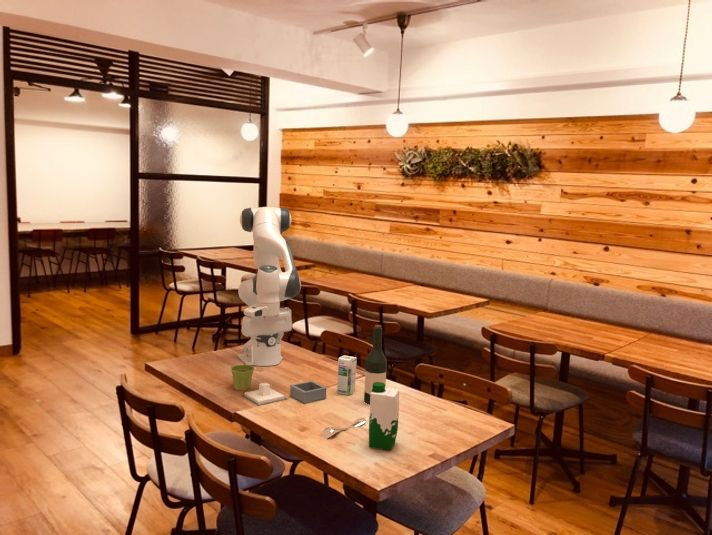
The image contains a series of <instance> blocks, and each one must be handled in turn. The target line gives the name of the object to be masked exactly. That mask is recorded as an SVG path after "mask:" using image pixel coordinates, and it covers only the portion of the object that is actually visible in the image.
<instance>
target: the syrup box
mask: <svg viewBox="0 0 712 535" xmlns="http://www.w3.org/2000/svg"><path fill="white" fill-rule="evenodd" d="M357 359H358V357H356V356H349V355H345V354H344V355H342V356H340V357H338V360H337V382H336V383H337V384H336V385H337V386H336V394H339V395H340V394H341V395H346V396H351V395H352V394H354V393H355V392H356V381H357V380H356V376H357Z"/></svg>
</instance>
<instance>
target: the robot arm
mask: <svg viewBox="0 0 712 535" xmlns="http://www.w3.org/2000/svg"><path fill="white" fill-rule="evenodd" d="M239 216H240V217H239V223H240V226H241V228H242V230H243V231H245V232H248V233H252V238H253V265H254V266H255V267H256V268H257V273H256V274H255V275H254V276H253V277H252V278H251V279H247V280H243V281H242V282H240V284H239V286H238V292H237V293H238V297H239V299H240V300H241V301H242V302H243V303H245V304H246V305H247V308H244V309H243V314H244V316H243V318H242V321H241V333H242V336H244V337H247V338H250V339H249V340H248V341H247V342H245V343H244V344H243V348H242V352H241V353H238V354H237V358H238V359H239V360H241V362H243V363H244V365H250V366H257V367H270V366H271V367H272V366H276V365H279V364H280V363H281V362H282V360H283V359H284V358H283V356H282V354H281V353H282V352H281V350H282V349H281V344H282V339H283V337H284V335H285V333H287V332H291V331H292V329H293V321H292V320H293V319H292V310H291V308H289V307H288V306H287V307H286V306H285V307H280V306H281V305H280V303H281V302H283V301H286V300H290V299H293V298H295V297H296V296H298V295H299V294H300V292H301V288H302V284H301V283H302V282H301V279H300V276H299V272H298V270H297V267H296V262H295V259H294V254H293V251H292V249H291V248H292V247H291V246H290V245H291V244H290V243H289V241H288V240H287V239H285V237H283V235H282V234H283V233H284V232H287V231H288V230H289V229H290V228H291V225H292V215H291V212H290V210H289V209H288V208H285V207H275V206H262V207H260V206H259V207H253V208H252V207H247V208H244V209H243V210H241V213H240V215H239ZM280 259H281V260H282V262H283V267H284V270H285V271H282V269H281V265H280Z"/></svg>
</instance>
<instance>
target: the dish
mask: <svg viewBox="0 0 712 535" xmlns="http://www.w3.org/2000/svg"><path fill="white" fill-rule="evenodd" d="M289 386H290V387H289V390H290V391H289V396H290V397H291V398H293V399H294V400H297V401H298V402H300V403H301V404H303V405H306V404H310V403H316V402H319V401H323V400H327V389H328V388H327V387H326V386H323V385H321V384H320V383H318V382H315V381H314V380H309V381H304V382H303V381H302V382H297V383H294V384H290V385H289Z"/></svg>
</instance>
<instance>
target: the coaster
mask: <svg viewBox="0 0 712 535" xmlns="http://www.w3.org/2000/svg"><path fill="white" fill-rule="evenodd" d="M241 397H243V398H244V399H246V400H247V401H249V402H250V403H253V405H256V406H258V407H259V406H263V405H269V404H272V403H277V402H282V401H288V398H287V397H285V396H284V399H282V400H277V401H273V402H268V403H263V404H257V403H256V402H254V401H252V400H251V399H249V398H248V397H246V396H245V394H241Z"/></svg>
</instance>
